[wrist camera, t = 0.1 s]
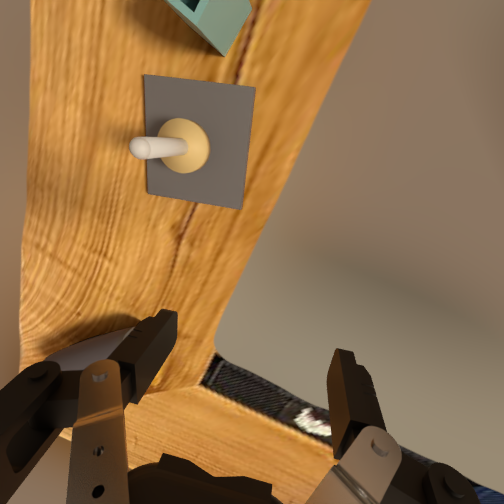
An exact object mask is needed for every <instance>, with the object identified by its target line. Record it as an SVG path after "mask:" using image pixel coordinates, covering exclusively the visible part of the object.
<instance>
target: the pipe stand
mask: <svg viewBox="0 0 504 504" xmlns="http://www.w3.org/2000/svg"><path fill="white" fill-rule="evenodd" d="M144 82H145V115H146V137H135V138H133V139H132V140H131V141H130V144H129V149H130V152H131V154H132V155H133V156H134V157H136V158H138V159H147V180H148V194H151V195H157V196H163V197H169V198H175V199H181V200H187V201H192V202H198V203H204V204H210V205H216V206H222V207H227V208H233V209H239V210H241V209H242V205H243V196H244V187H245V179H246V170H247V161H248V152H249V143H250V135H251V126H252V117H253V108H254V100H255V91H256V88H255V87H249V86H240V85H232V84H223V83H215V82H206V81H198V80H189V79H181V78H172V77H164V76H155V75H147V74H144Z"/></svg>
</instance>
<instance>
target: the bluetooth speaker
mask: <svg viewBox="0 0 504 504" xmlns="http://www.w3.org/2000/svg"><path fill="white" fill-rule="evenodd" d="M134 328H135V327H130V328H125V329H121V330H118V331H113V332H110V333H106V334H103V335H98V336H95V337H91V338H88V339H86V340H83V341H81V342H78V343H76V344H73V345H70V346H69V347H66V348H64V349H61V350H59V351H57V352H55V353H53V354H51V355H49V356H48V357H47V358H46V359H45V360H44V361H54V362H57V363H58V364H59V365H60V368H61V371H69V370H84V369H85V368H86V367H87V366H89V365H90V364H92V363H94V362H96V361H99V360H105V359H107V358H108V356H109V355H110V354H111V353H112V352H113V351H114V350H115V349H116V348H117V346H118V345H119V344H120V343H121V342H122V341H123V340H124V339H125V338H126V337H127V336H128V334H129V333H130V332H131V331H133V329H134Z"/></svg>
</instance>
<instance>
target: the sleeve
mask: <svg viewBox="0 0 504 504" xmlns="http://www.w3.org/2000/svg"><path fill="white" fill-rule="evenodd" d="M164 1H165V2H166V3H167V4H168V5H169V6H170V7H171V8H172V9H173V10H174V11H175V12H176V13H177V14H178V15H179V16H180V17H181V18H182V19H183V20H184V22H185V23H186V24H187V25H188V26H190V27H191V28H192V29H193V30H194V31H195V32H196V33H198V34H199V35H200V36H201V37H202V38H203V39H205V40H206V41H207V42H208V43H209V44H210V45H211V46H213V47H214V48H215V49H216V50H217V51H218V52H220V53H221V54H222V55H223V56H224V57H225V56H226V54H227V52H228V51H229V49H230V47H231V45H232V44H233V42H234V40H235V38H236V36H237V35H238V33H239V31H240V29H241V28H242V26H243V24H244V22H245V20H246V19H247V17H248V15H249V13H250V12H251V10H252V8H251V5H250V2H249V0H164Z"/></svg>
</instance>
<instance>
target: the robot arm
mask: <svg viewBox="0 0 504 504" xmlns="http://www.w3.org/2000/svg"><path fill="white" fill-rule="evenodd" d="M177 319H178V314H177V312H175V311H171V310H166V309H161V310H160V311H159V312H158V313H157V315H156V316H155V317H150V316H149V317H147V318H146V319H144V320H142V321H140V322H139V323H138V324H137V326H136V327H135V328H134V329H133V331H131V332H130V333H129V334H128V336H127V337H126V338H125V339H124V340H123V341H122V342H121V343H120V344H119V345H118V346H117V348H116V349H115V350H114V351H113V352H112V353H111V354H110V355H109V356H108V358H107V359H105V360H99V361H96V362H94V363H92V364H90V365H89V366H87V367H86V368H85V369H84V370H69V371H61V368H60V365H59V364H58V363H57V362H54V361H42V362H38V363H35V364H33V365H31V366H29V367H27V368H26V369H24V370H23V371H22V372H21V373H19V374H18V375H17V376H16V377H15V378H14V379H13V380H12V381H10V382H9V383H8V384H7V385H6V386H5V387H4V388H3V389H1V390H0V504H6V503H7V502H8V500H9V499H10V498H11V497H12V495H13V494H14V493H15V491H16V490H17V489H18V487H19V486H20V485H21V484H22V482H23V481H24V480H25V478H26V477H27V476H28V474H29V473H30V472H31V470H32V469H33V468H34V467H35V465H36V464H37V463H38V461H39V460H40V459H41V457H42V456H43V455H44V453H45V452H46V451H47V450H48V448H49V447H50V446H51V444H52V443H53V442H54V441H55V439H56V438H57V436H58V435H59V434H60V433H61V431H62V430H63V429H64V428H68V427H73V430H72V441H71V453H70V465H69V476H68V487H67V498H66V504H283V503H282V502H280V501H279V500H278V499H277V498H276V497H274V496H273V495H271V492H272V484H270V483H266V482H263V481H259V480H256V479H252V478H249V477H245V476H236V477H214V476H212V475H210V474H209V473H207V472H206V471H204V470H203V469H201V468H200V467H198V466H197V465H195V464H194V463H192V462H191V461H189V460H186V459H183V458H179V457H176V456H172V455H169V454H165V453H163V454H162V456H161V458H160V461H159V462H155V463H149V464H145V465H142V466H139V467H137V468H135V469H133V470H131V471H129V467H128V455H127V443H126V430H125V418H124V409H125V408H126V406H127V405H128V403H129V402H130V403H134V404H138V403H139V401H140V400H141V398H142V397H143V395H144V393H145V392H146V390H147V389H148V387H149V386H150V384H151V382H152V381H153V379H154V378H155V376H156V374H157V373H158V371H159V370H160V368H161V366H162V365H163V363H164V362H165V360H166V359H167V357H168V355H169V354H170V352H171V351H172V349H173V347H174V345H175V343H176V339H177ZM327 393H328V403H329V413H330V424H331V434H332V444H333V455H334V458H335V459H338V460H340V461H339V463H338V464H337V465H336V466H335V465H334V466H333V467H332V468H331V469H330V471H329V472H328V473H327V475H326V476H325V477H324V479H323V480H322V481H321V483H320V484H319V485H318V487H317V488H316V489H315V491H314V492H313V493H312V495H311V496H310V498H309V499H308V500H307V502H306V503H305V504H481V503H480V501H479V499H478V496H477V494H476V492H475V490H474V489H473V487H472V486H471V484H470V483H469V482H468V481H467V479H466V478H465V477H464V476H463V475H462V474H461V473H459V472H458V471H457V470H455V469H454V468H452V467H451V466H449V465H446V464H444V463H433V464H432V465H431V466H430V467H429V468H428V467H427V466H425V465H423V464H421V463H420V462H418V461H416V460H414V459H413V458H411V457H409V456H408V455H406V454H405V453H403V452H402V451H401V450H400V448H399V445H398V444H397V442H396V441H395V439H394V438H393V437H392V436H391V435H390V434H389V433H387V430H386V427H385V423H384V420H383V417H382V413H381V410H380V406H379V403H378V399H377V397H376V392H375V389H374V385H373V382H372V378H371V376H370V374H369V373H368V371H367V370H366V369H365V367H364V366H362V365H358V364H356V360H355V356H354V353H353V352H352V351H347V350H343V349H338V348H337V349H336V350H335V352H334V355H333V358H332V361H331V364H330V367H329V371H328V375H327Z"/></svg>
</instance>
